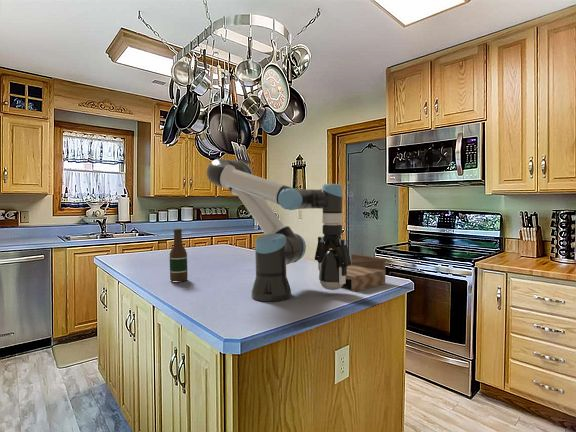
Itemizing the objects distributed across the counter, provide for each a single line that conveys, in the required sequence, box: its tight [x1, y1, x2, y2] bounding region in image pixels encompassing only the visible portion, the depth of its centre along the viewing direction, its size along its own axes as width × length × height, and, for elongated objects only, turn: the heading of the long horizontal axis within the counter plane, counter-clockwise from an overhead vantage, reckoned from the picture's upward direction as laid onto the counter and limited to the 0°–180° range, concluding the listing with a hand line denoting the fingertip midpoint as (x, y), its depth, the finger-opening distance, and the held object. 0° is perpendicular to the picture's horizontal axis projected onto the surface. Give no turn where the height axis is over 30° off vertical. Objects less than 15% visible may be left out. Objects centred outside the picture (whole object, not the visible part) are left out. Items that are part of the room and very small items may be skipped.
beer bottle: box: [169, 228, 189, 282], centre depth 165 cm, size 8×8×24 cm
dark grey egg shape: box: [318, 248, 344, 291], centre depth 138 cm, size 10×10×15 cm
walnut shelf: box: [346, 253, 386, 293], centre depth 154 cm, size 20×18×11 cm
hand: (332, 281), depth 138 cm, fingers closed on dark grey egg shape, 10 cm apart
